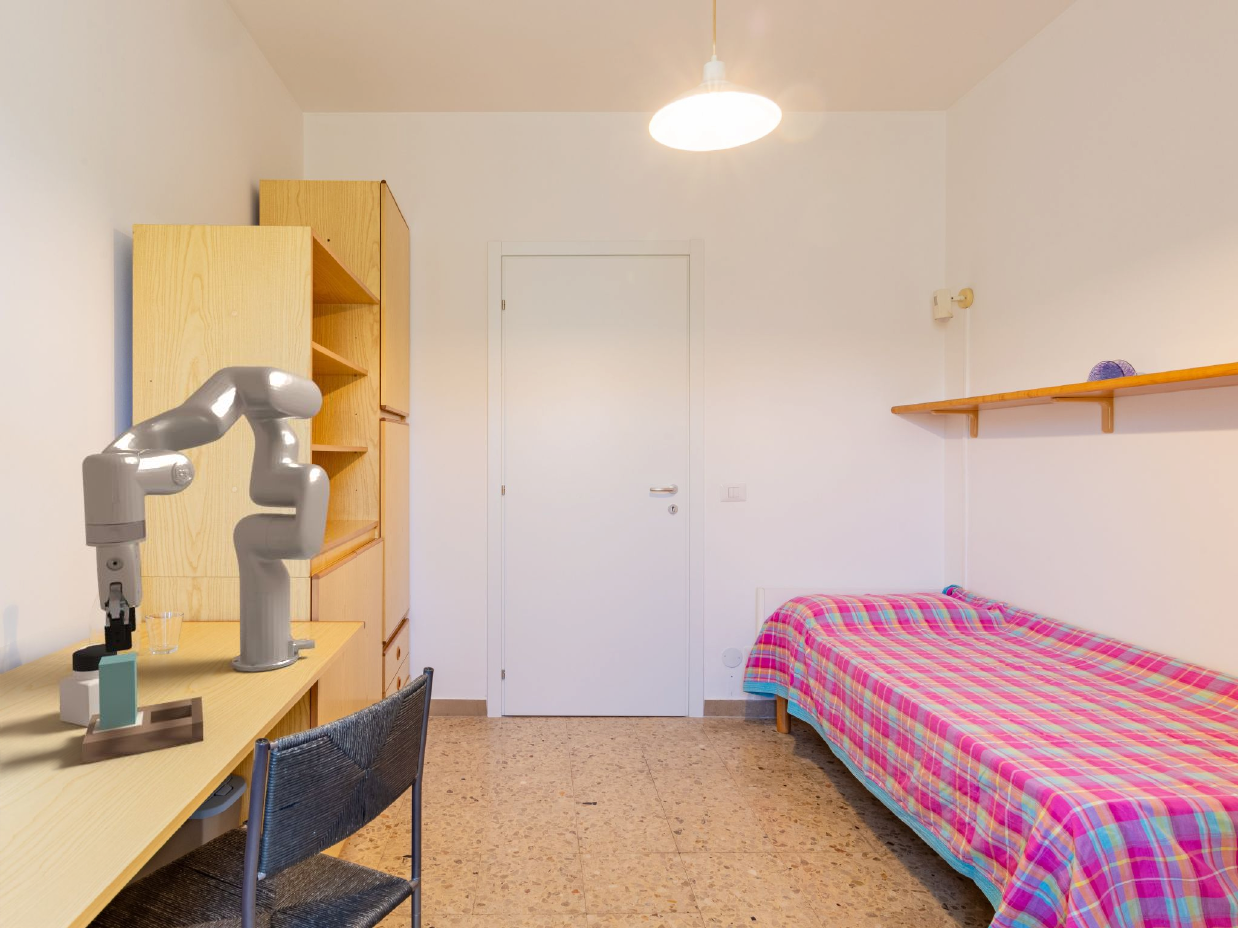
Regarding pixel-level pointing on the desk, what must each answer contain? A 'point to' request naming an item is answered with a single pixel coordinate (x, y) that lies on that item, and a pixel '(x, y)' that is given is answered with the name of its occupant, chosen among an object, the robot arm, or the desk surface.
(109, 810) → the desk surface
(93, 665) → the medicine bottle
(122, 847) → the desk surface
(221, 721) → the desk surface
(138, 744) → the pocket board
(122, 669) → the peg
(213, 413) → the robot arm
